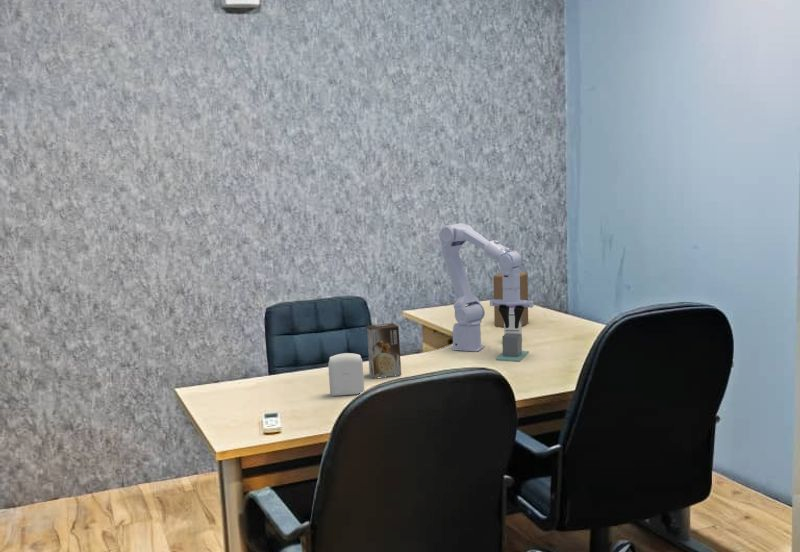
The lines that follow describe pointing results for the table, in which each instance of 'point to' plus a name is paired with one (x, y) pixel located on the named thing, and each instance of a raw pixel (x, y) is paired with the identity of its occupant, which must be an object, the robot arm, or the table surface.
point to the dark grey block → (512, 344)
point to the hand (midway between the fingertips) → (512, 327)
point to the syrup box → (512, 323)
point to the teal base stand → (518, 359)
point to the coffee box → (384, 350)
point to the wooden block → (499, 295)
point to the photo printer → (346, 374)
